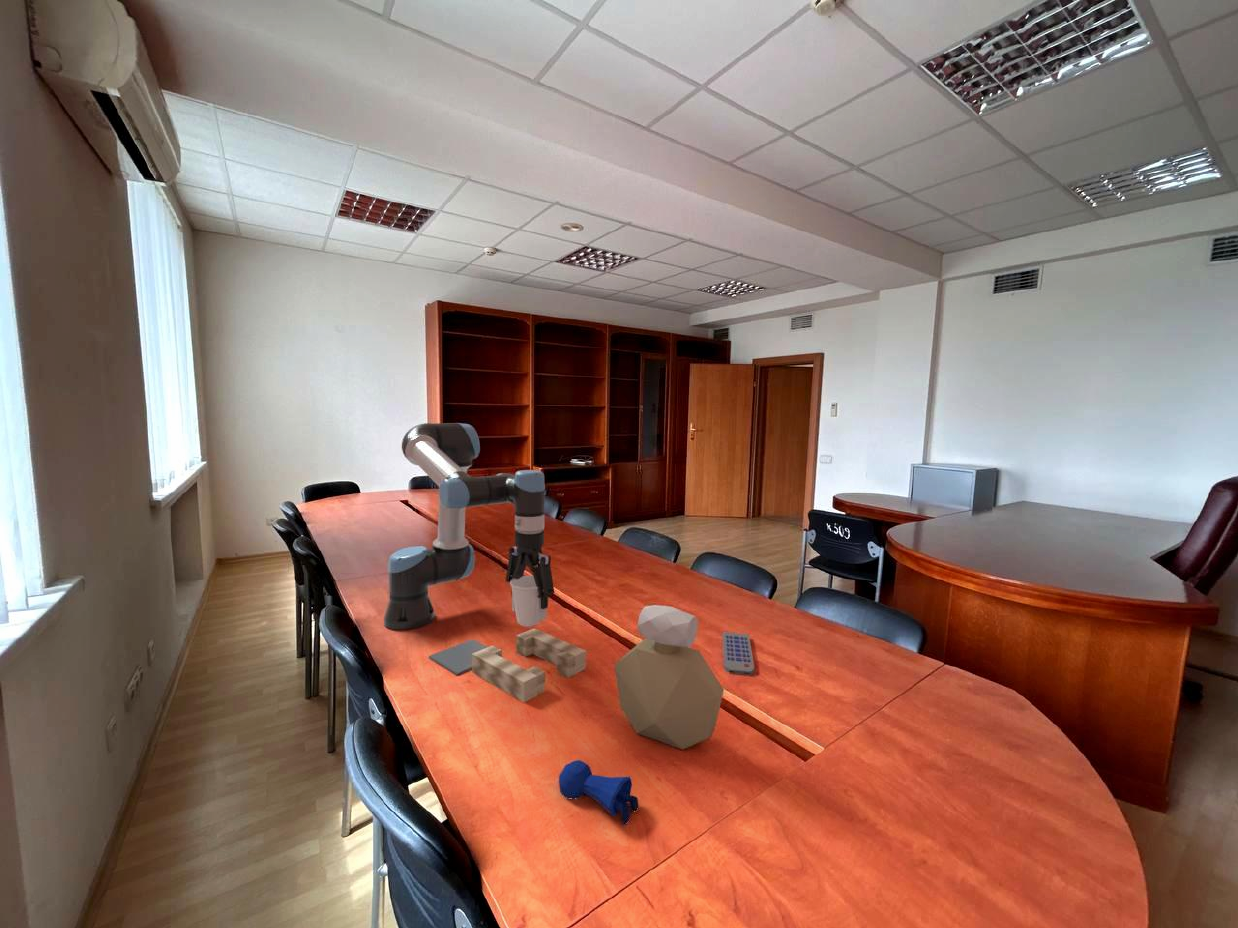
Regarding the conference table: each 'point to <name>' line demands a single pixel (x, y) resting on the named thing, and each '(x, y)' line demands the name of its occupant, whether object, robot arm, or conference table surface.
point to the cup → (525, 600)
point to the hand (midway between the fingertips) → (528, 614)
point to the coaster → (458, 656)
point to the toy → (598, 788)
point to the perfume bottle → (668, 680)
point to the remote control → (737, 653)
